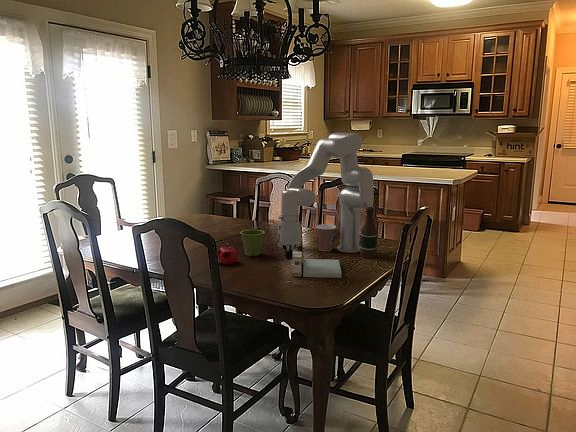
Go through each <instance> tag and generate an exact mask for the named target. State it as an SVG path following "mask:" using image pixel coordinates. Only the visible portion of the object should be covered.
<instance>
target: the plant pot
mask: <svg viewBox="0 0 576 432" xmlns="http://www.w3.org/2000/svg"><path fill="white" fill-rule="evenodd" d="M239 233H240V235H241V239H242V243H243V248H244V254H245V255H246V256H247V257H252V256H253V257H257V256H260V255H261V253H262V252H261V251H262V246H263V245H262V244H263V238H264V234H265V231H264V230H261V229H245V230H241V231H240V232H239Z"/></svg>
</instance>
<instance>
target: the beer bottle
mask: <svg viewBox="0 0 576 432" xmlns="http://www.w3.org/2000/svg"><path fill="white" fill-rule="evenodd" d="M365 210H366V211H365V212H366V214H365V223H364V225H363V226H362V228H361V229H360V230H361V231H360V244H359V246H360V252H359V253H360V255H359V256H360V258H362V257H363V258H362V259H367V260H368V259H369V260H370V259H375V258H376V257H377V252H378V251H377V250H378V230H377V226H376V225H375V223H374V222H375V221H374V220H375V219H374V217H375V216H374V211H375V208H374V207H372V206H371V207H367V208H366V209H365Z"/></svg>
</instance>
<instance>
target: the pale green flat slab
mask: <svg viewBox="0 0 576 432" xmlns="http://www.w3.org/2000/svg"><path fill="white" fill-rule="evenodd" d="M302 265H303V267H302V268H303V272H302V276H303V278H340V279H342V277H343V276H342V275H343V273H342V269H341V264H340V260H339V259H325V258H324V259H313V258H312V259H310V258H307V259H305V258H303V264H302Z"/></svg>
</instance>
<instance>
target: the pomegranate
mask: <svg viewBox="0 0 576 432" xmlns="http://www.w3.org/2000/svg"><path fill="white" fill-rule="evenodd" d="M233 247H236V245H235V246H234V245H232V246H230V244H229V243H226V245H223V246H221V247H219V249H218V250H217V252H216V254H217V253H218V259H219V262H218V263H219V264H221V265H222V264H223V265H227V266H229V265H234V264H235V263H237V262H238V260H239V253H238V251H237V250H236V249H235V248H233ZM218 259H217V260H218Z"/></svg>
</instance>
